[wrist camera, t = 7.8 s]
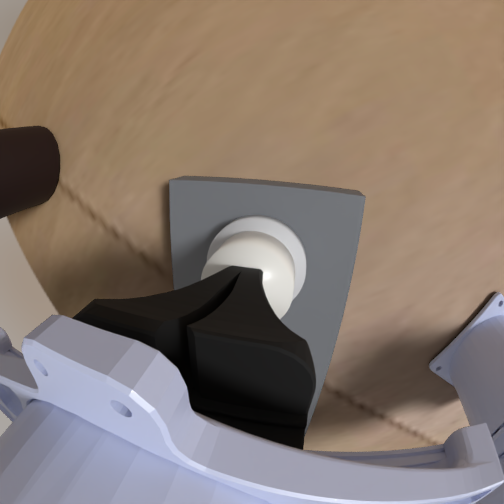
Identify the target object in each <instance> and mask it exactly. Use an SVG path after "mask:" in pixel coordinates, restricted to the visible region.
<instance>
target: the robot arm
mask: <svg viewBox="0 0 504 504" xmlns="http://www.w3.org/2000/svg"><path fill="white" fill-rule="evenodd" d="M262 282H263V271H262V270H261V269H256V268H248V267H240V266H233V265H232V266H229V267H227V268H225V269H223V270H221V271H219V272H217V273H215V274H213V275H211V276H209V277H207V278H205V279H203V280H200V281H198V282H196V283H193V284H191V285H189V286H186V287H183V288H180V289H177V290H174V291H171V292H167V293H162V294H157V295H152V296H147V297H140V298H130V299H94V300H93V301H92V302H91V303H89V304H88V305H87V306H86V307H85V308H84V309H82V310H81V311H80V312H79V313H78V314H77V315H75V316H74V317H73V318H69V317H66V316H64V315H51V316H50V317H49V318H48V319H46V320H45V321H44V322H43V323H41V324H40V325H39V326H38V327H36V328H35V329H34V330H33V331H32V332H31V333H29V334H28V335H27V336H26V337H24V340H23V342H22V353H23V354H22V353H21V352H19V351H18V350H16V349H15V348H14V347H12V343H11V341H10V339H9V337H8V335H7V333H6V332H5V330H3V329H2V328H1V327H0V410H1V411H2V412H3V413H4V414H5V415H6V416H7V417H8V418H9V419H10V420H11V421H12V424H11V425H10V426H9V427H8V428H7V429H6V431H5V432H4V433H3V434H2V435H1V437H0V504H504V297H503V295H502V294H501V293H500V292H497V293H495V294H494V295H493V297H492V298H491V299H490V300H489V302H488V303H487V304H486V305H485V306H484V308H483V309H482V310H481V311H480V312H479V313H478V314H477V316H476V317H475V318H474V319H473V320H472V321H471V322H470V323H469V324H468V326H467V327H466V328H465V329H464V330H463V331H462V332H461V333H460V334H459V335H458V336H457V337H456V338H455V339H454V340H453V341H452V342H451V343H450V344H449V345H448V346H447V347H446V348H445V349H444V350H443V351H442V352H441V353H440V354H439V355H438V356H436V357H435V358H434V359H433V360H432V361H431V362H430V364H429V368H430V370H431V371H433V372H434V373H436V374H437V375H438V376H440V377H441V378H443V379H444V380H445V381H447V382H448V383H450V384H451V385H453V386H454V387H455V389H456V391H457V393H458V396H459V398H460V401H461V403H462V406H463V408H464V411H465V414H466V416H467V419H468V422H469V425H470V426H468V427H463V428H460V429H458V430H456V431H455V432H453V433H452V434H451V435H450V436H449V437H448V439H447V440H446V441H445V443H444V444H441V445H435V446H428V447H421V448H412V449H403V450H391V451H372V452H331V451H312V450H303V445H304V435H305V429H306V426H307V418H308V411H309V408H310V405H311V402H312V399H313V396H314V393H315V389H316V373H315V367H314V362H313V358H312V355H311V352H310V348H309V345H308V343H307V341H306V340H305V339H303V338H302V337H300V336H299V335H297V334H296V333H294V332H293V331H291V330H290V329H289V328H288V327H287V326H285V325H284V324H283V323H282V321H281V320H280V319H279V318H278V317H277V315H276V314H275V312H274V311H273V309H272V307H271V306H270V304H269V302H268V299H267V297H266V294H265V291H264V288H263V283H262ZM499 302H500V303H499Z"/></svg>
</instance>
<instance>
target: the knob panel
mask: <svg viewBox="0 0 504 504" xmlns="http://www.w3.org/2000/svg"><path fill="white" fill-rule="evenodd" d="M169 194H170V233H171V253H172V270H173V283H174V290H177V289H180V288H183V287H186V286H189V285H191V284H193V283H196V282H198V281H200V280H201V275H202V271H203V269H204V266H205V265H206V263H207V262H208V260H209V259H210V258H211V257H212V255H213V254H214V253H215V252H216V251H217V250H218V249H219V247H220V246H221V245H222V244H223V243H224V242H225V241H226V240H227V239H229V238H230V237H232V236H233V235H235V234H238V233H241V232H246V231H257V232H263V233H266V234H269V235H271V236H273V237H275V238H276V239H278V240H279V241H280V242H282V243H283V244H284V245H285V246H286V247H287V249H288V250H289V252H290V253H291V255H292V257H293V260H294V263H295V270H296V272H295V283H294V291H293V298H292V302H291V305H290V307H289V309H288V311H287V312H286V313H285V315H284V316H283V317H282V318H281V319H280V320H281V321H282V323H283V324H284V325H285V326H287V327H288V328H289V329H290V330H291V331H293V332H294V333H296V334H297V335H299V336H300V337H302V338H303V339H305V340H306V341H307V343H308V345H309V348H310V352H311V355H312V358H313V362H314V367H315V373H316V389H315V393H314V396H313V399H312V402H311V405H310V408H309V411H308V418H307V426H306V429H305V434H306V432H307V429H308V426H309V424H310V421H311V418H312V416H313V413H314V410H315V407H316V404H317V401H318V399H319V396H320V393H321V390H322V387H323V384H324V380H325V377H326V374H327V371H328V368H329V364H330V361H331V358H332V354H333V351H334V347H335V344H336V340H337V336H338V333H339V329H340V325H341V321H342V317H343V313H344V309H345V305H346V301H347V297H348V292H349V288H350V283H351V278H352V274H353V269H354V264H355V259H356V253H357V248H358V242H359V237H360V231H361V225H362V218H363V211H364V204H365V196H364V195H363V194H362V193H361V192H359V191H357V190H349V189H342V188H335V187H327V186H318V185H309V184H300V183H290V182H280V181H268V180H256V179H241V178H224V177H203V176H182V177H178V178H175V179H171V180H169ZM304 437H305V435H304Z"/></svg>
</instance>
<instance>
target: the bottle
mask: <svg viewBox="0 0 504 504" xmlns="http://www.w3.org/2000/svg"><path fill="white" fill-rule="evenodd" d="M59 170H60V155H59V150H58V145H57V142H56V140H55V138H54V136H53V134H52V133H51V132H50V131H49V130H48V129H47V128H45V127H41V126H29V127H18V128H8V129H0V219H1V218H3V217H6V216H8V215H11V214H14V213H16V212H19V211H22V210H24V209H27V208H30V207H33V206H36V205H39V204H41V203H43V202H45V201H46V200H48V199H49V198H50V196H51V195H52V194H53V192H54V190H55V187H56V184H57V182H58V177H59Z"/></svg>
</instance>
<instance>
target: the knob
mask: <svg viewBox="0 0 504 504" xmlns="http://www.w3.org/2000/svg"><path fill="white" fill-rule="evenodd" d="M232 265H233V266H240V267H248V268H256V269H261V270H262V271H263V282H262V283H263V288H264V291H265V294H266V297H267V299H268V302H269V304H270V306H271V307H272V309H273V311H274V312H275V314H276V315H277V317H278V318H279V319H281V318H282V317H283V316H284V315H285V313H286V312H287V311H288V309H289V307H290V305H291V302H292V298H293V291H294V283H295V272H296V270H295V263H294V260H293V257H292V255H291V253H290V252H289V250H288V249H287V247H286V246H285V245H284V244H283V243H282V242H280V241H279V240H278V239H276V238H275V237H273V236H271V235H269V234H266V233H263V232H257V231H246V232H241V233H238V234H235V235H233V236H232V237H230V238H229V239H227V240H226V241H225V242H224V243H223V244H222V245H221V246H220V247H219V249H218V250H217V251H216V252H215V253H214V254H213V255H212V257H211V258H210V259H209V260H208V262H207V263H206V265H205V266H204V269H203V271H202V275H201V280H203V279H205V278H207V277H209V276H211V275H213V274H215V273H217V272H219V271H221V270H223V269H225V268H227V267H229V266H232Z"/></svg>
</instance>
